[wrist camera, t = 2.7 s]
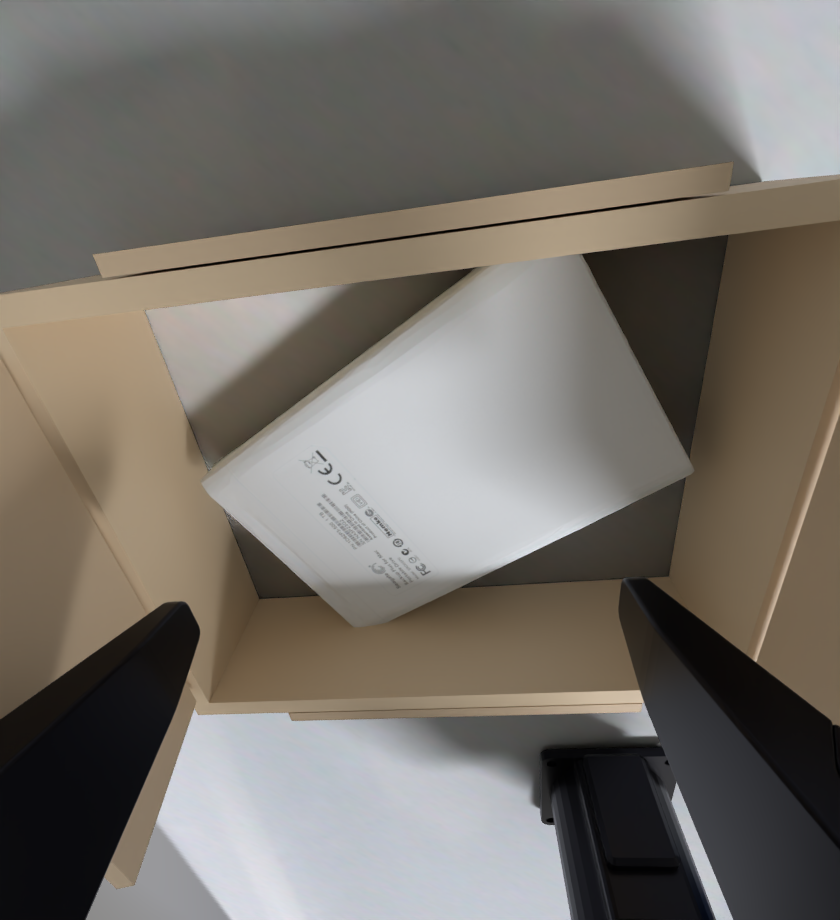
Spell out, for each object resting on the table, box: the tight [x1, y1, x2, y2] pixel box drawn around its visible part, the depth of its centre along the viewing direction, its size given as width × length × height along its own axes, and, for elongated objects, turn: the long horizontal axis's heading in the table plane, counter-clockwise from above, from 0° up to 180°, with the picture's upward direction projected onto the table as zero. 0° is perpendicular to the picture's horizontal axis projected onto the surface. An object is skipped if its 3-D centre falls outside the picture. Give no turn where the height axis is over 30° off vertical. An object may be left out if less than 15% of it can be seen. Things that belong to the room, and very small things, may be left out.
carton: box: [0, 162, 840, 721], centre depth 13 cm, size 14×17×4 cm
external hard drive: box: [201, 254, 695, 627], centre depth 14 cm, size 2×8×12 cm
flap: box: [0, 358, 197, 889], centre depth 10 cm, size 4×11×1 cm
